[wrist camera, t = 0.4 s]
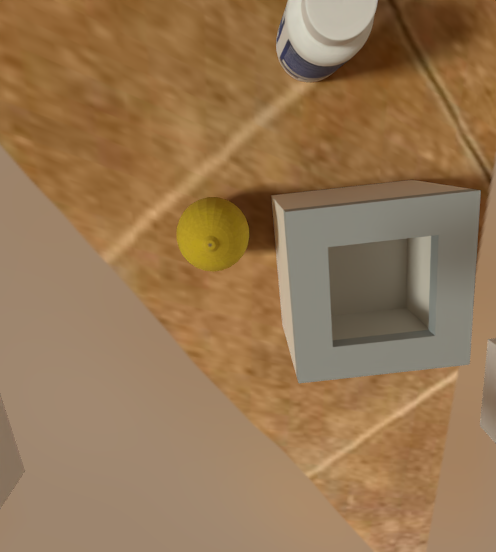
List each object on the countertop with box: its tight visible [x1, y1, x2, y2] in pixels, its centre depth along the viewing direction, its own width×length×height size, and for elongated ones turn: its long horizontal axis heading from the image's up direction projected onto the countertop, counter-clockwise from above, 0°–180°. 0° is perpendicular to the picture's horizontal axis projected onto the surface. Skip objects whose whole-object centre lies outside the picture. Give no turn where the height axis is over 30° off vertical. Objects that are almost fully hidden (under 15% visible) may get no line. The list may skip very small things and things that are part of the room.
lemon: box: [177, 197, 249, 271], centre depth 31 cm, size 6×6×8 cm
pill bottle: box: [276, 0, 378, 82], centre depth 26 cm, size 5×5×10 cm
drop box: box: [271, 180, 481, 383], centre depth 31 cm, size 12×12×10 cm
